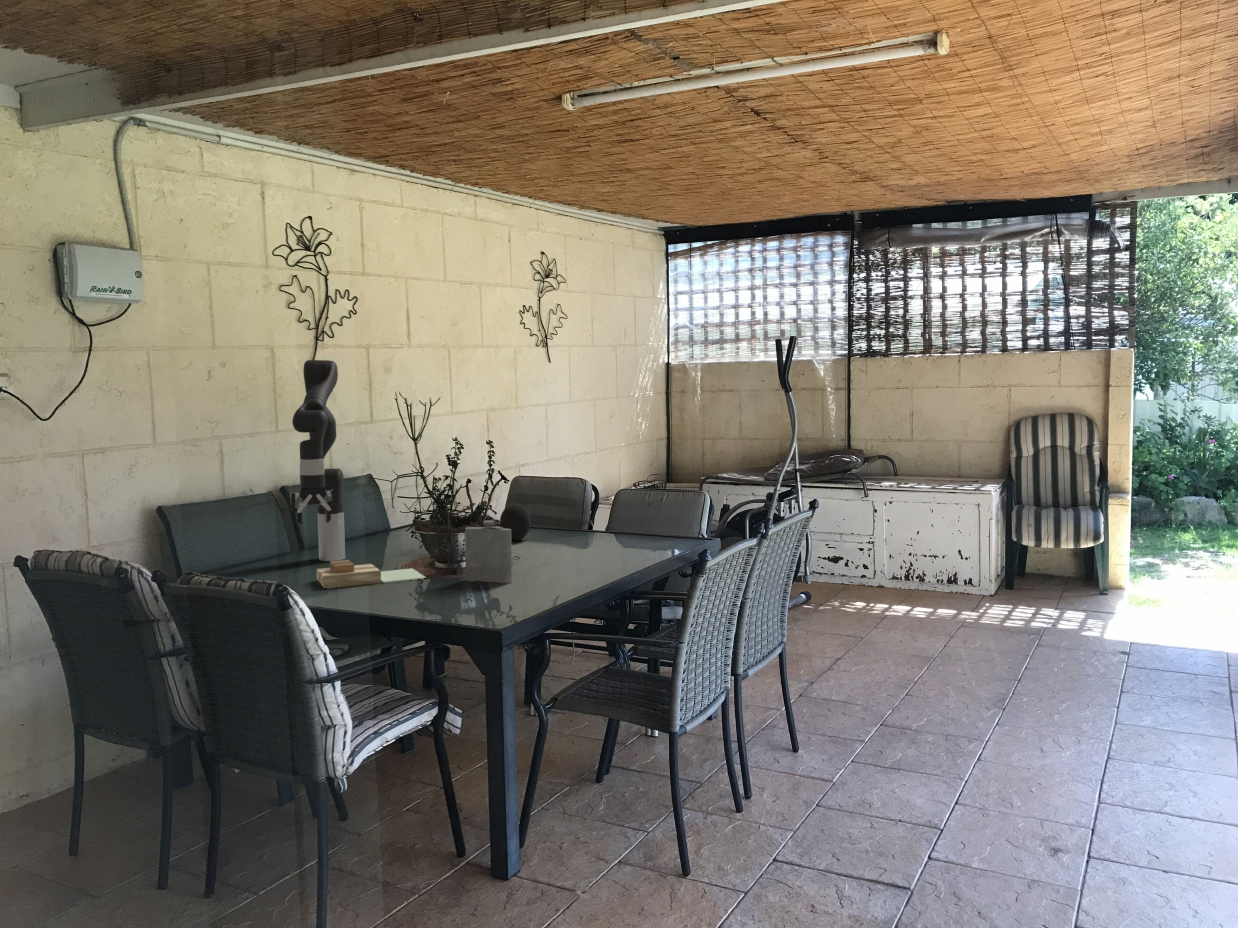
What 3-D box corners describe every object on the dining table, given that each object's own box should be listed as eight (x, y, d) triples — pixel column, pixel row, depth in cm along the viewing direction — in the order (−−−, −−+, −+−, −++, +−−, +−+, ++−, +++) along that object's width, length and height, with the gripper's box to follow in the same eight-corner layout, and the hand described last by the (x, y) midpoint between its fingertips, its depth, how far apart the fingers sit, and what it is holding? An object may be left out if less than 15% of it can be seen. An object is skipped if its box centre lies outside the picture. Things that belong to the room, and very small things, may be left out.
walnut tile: (330, 569, 324) (330, 561, 324) (348, 567, 327) (348, 559, 326) (335, 573, 317) (335, 565, 316) (354, 571, 320) (353, 564, 319)
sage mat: (371, 574, 334) (371, 572, 334) (412, 570, 341) (412, 568, 341) (383, 583, 320) (383, 581, 320) (425, 578, 327) (425, 577, 327)
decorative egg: (496, 539, 400) (495, 502, 398) (525, 536, 405) (524, 500, 403) (505, 544, 389) (505, 506, 387) (535, 541, 394) (534, 504, 392)
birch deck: (316, 580, 325) (316, 568, 324) (371, 575, 333) (371, 563, 332) (324, 588, 313) (324, 576, 313) (381, 582, 321) (380, 570, 321)
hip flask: (464, 581, 323) (463, 520, 321) (469, 578, 327) (468, 518, 325) (509, 583, 319) (508, 522, 317) (514, 581, 323) (513, 520, 321)
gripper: (332, 470, 321) (333, 519, 323) (286, 473, 314) (288, 523, 316) (337, 472, 314) (339, 523, 316) (291, 475, 308) (293, 526, 309)
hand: (313, 523), depth 316 cm, fingers open, 8 cm apart
